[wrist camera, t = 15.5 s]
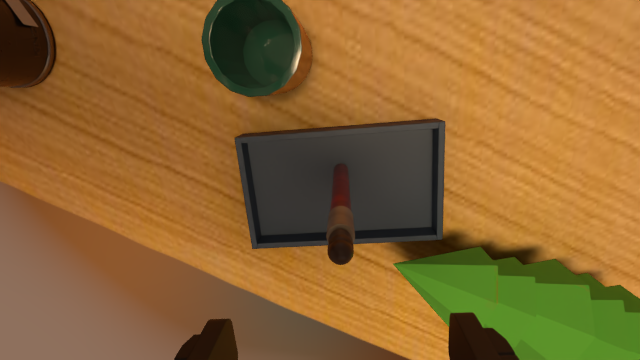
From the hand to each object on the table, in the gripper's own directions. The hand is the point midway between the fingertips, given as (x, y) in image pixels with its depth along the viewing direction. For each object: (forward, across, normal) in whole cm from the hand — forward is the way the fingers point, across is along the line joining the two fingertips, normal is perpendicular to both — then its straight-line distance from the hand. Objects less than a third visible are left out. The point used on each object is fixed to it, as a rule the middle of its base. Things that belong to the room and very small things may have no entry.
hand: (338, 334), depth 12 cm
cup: (+24, +5, -12) cm, 27 cm away
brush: (+23, 0, 0) cm, 23 cm away
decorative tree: (+24, -18, +14) cm, 33 cm away
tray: (+24, 0, +1) cm, 24 cm away
